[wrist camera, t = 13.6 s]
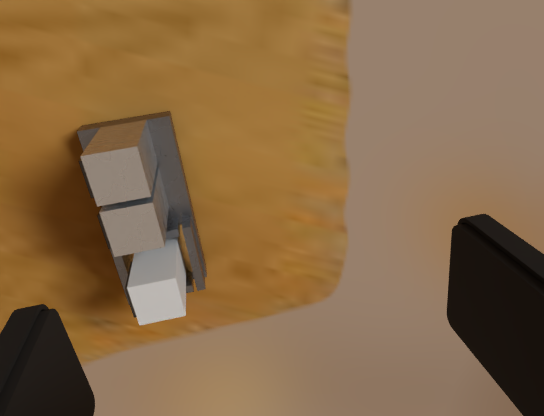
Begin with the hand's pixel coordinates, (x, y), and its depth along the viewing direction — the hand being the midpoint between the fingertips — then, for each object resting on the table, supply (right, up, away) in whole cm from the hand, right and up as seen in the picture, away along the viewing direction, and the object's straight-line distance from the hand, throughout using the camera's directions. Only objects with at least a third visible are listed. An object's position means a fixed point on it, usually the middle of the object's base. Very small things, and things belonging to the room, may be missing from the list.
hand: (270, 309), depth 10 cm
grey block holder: (-12, +3, +33) cm, 36 cm away
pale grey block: (-11, -2, +34) cm, 36 cm away
